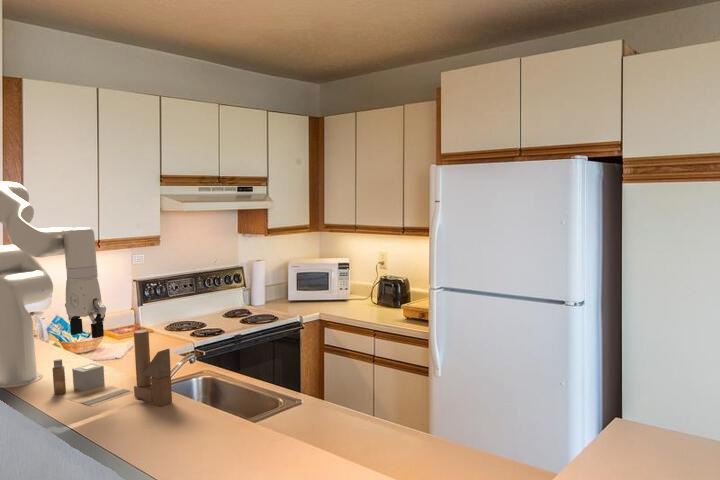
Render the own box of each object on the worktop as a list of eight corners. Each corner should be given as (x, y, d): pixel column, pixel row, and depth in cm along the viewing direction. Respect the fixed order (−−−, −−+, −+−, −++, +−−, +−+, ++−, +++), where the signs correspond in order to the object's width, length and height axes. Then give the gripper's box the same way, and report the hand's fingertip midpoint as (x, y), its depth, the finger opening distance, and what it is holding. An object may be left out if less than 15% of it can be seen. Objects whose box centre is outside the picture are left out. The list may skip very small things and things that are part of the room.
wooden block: (161, 407, 145) (157, 336, 144) (134, 399, 151) (130, 332, 150) (173, 402, 148) (169, 333, 147) (145, 395, 154) (142, 329, 153)
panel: (52, 398, 154) (51, 393, 154) (93, 384, 164) (93, 380, 164) (92, 410, 144) (91, 406, 144) (133, 395, 154) (133, 391, 154)
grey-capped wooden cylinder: (52, 393, 154) (49, 360, 153) (62, 390, 156) (59, 358, 156) (57, 395, 153) (55, 362, 152) (68, 392, 155) (65, 359, 154)
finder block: (73, 388, 158) (72, 368, 157) (93, 382, 163) (92, 362, 162) (84, 391, 155) (83, 371, 155) (104, 385, 160) (103, 365, 160)
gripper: (50, 274, 158) (56, 335, 159) (88, 276, 148) (93, 342, 150) (76, 270, 164) (81, 329, 165) (114, 272, 155) (119, 335, 156)
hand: (87, 335), depth 157 cm, fingers open, 9 cm apart
